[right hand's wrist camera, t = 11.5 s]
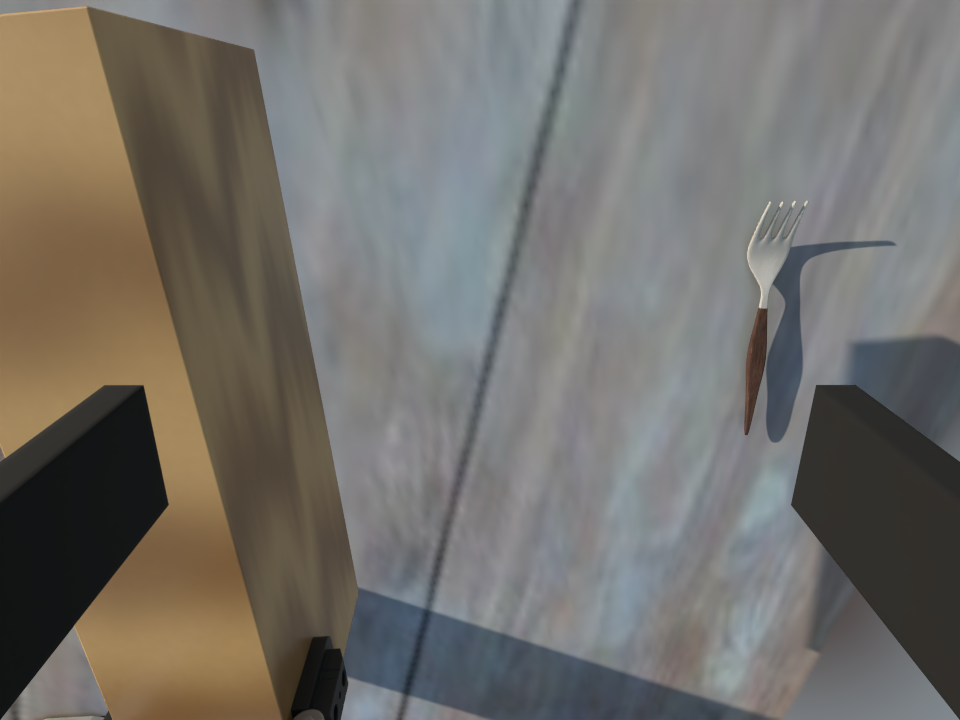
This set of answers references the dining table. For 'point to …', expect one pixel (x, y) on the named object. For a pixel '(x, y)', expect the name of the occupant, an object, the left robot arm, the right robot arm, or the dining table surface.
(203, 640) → the box
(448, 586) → the dining table surface
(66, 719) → the wall clock
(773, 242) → the fork
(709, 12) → the dining table surface
